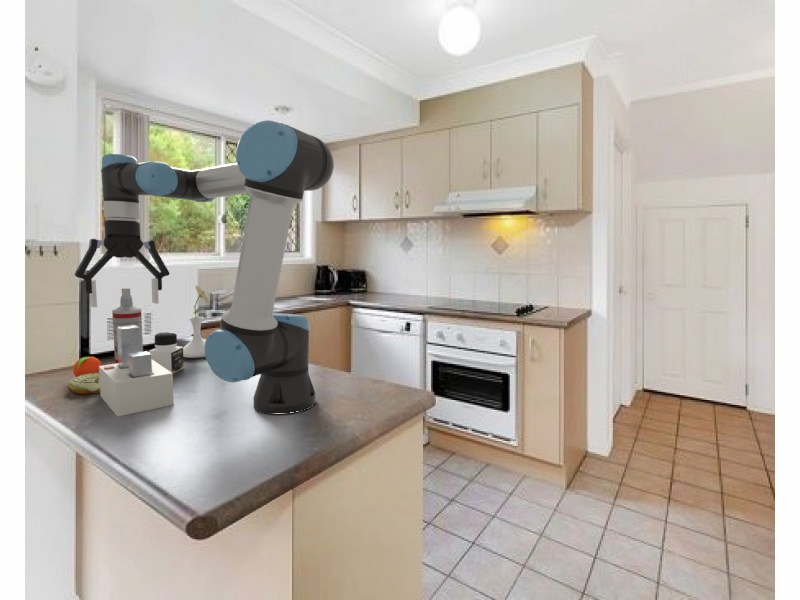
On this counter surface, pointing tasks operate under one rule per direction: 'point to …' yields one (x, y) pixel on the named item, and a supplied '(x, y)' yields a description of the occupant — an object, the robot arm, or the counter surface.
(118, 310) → the spray bottle
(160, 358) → the medicine bottle
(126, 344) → the upper square grey bar
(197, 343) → the flower in vase
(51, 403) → the counter surface
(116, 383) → the housing
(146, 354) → the grey square peg
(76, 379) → the decorated donut
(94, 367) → the clementine
